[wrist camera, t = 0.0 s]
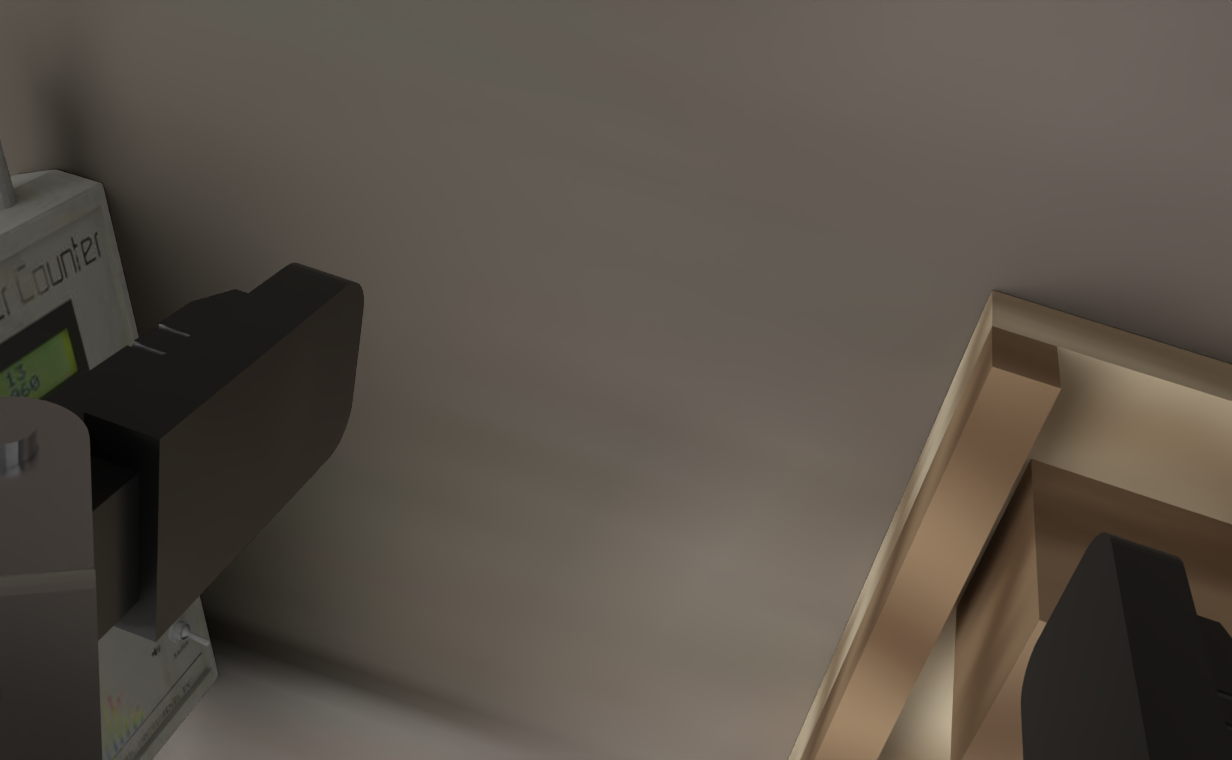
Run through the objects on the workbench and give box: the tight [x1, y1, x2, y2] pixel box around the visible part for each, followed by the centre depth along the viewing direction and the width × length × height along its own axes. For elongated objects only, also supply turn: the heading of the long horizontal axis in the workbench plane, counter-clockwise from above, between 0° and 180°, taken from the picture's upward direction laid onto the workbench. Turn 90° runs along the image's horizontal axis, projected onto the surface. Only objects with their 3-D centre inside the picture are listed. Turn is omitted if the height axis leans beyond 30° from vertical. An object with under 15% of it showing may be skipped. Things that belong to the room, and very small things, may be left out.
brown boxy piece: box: [950, 459, 1232, 760], centre depth 26 cm, size 5×10×6 cm, turn 77°
